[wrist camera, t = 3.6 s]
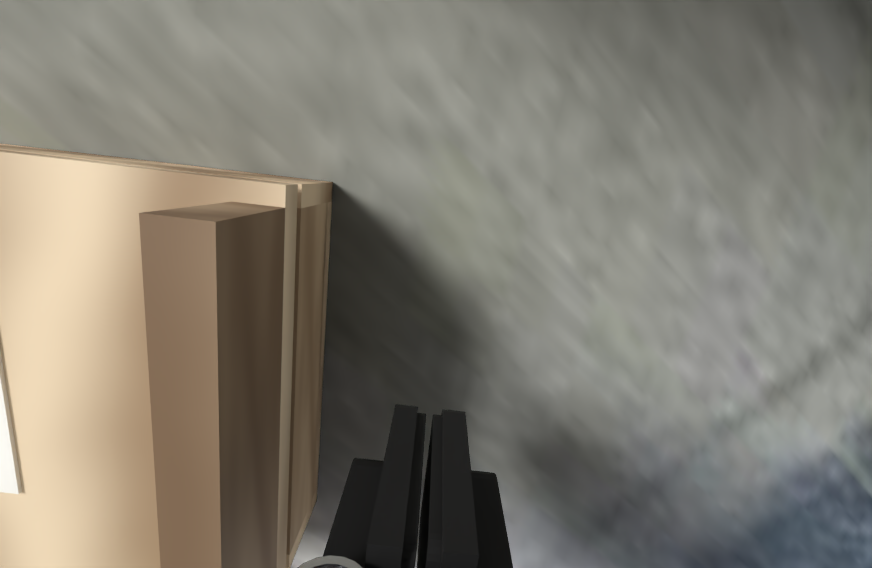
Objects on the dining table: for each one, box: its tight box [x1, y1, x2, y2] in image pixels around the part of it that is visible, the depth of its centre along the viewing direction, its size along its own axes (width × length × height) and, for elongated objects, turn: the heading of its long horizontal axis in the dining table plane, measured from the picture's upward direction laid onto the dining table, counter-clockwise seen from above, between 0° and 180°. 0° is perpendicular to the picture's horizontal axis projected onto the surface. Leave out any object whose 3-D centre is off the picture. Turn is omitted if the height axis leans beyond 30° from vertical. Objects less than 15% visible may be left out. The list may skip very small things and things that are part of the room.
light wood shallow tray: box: [0, 144, 333, 568], centre depth 13 cm, size 18×12×3 cm, turn 84°
